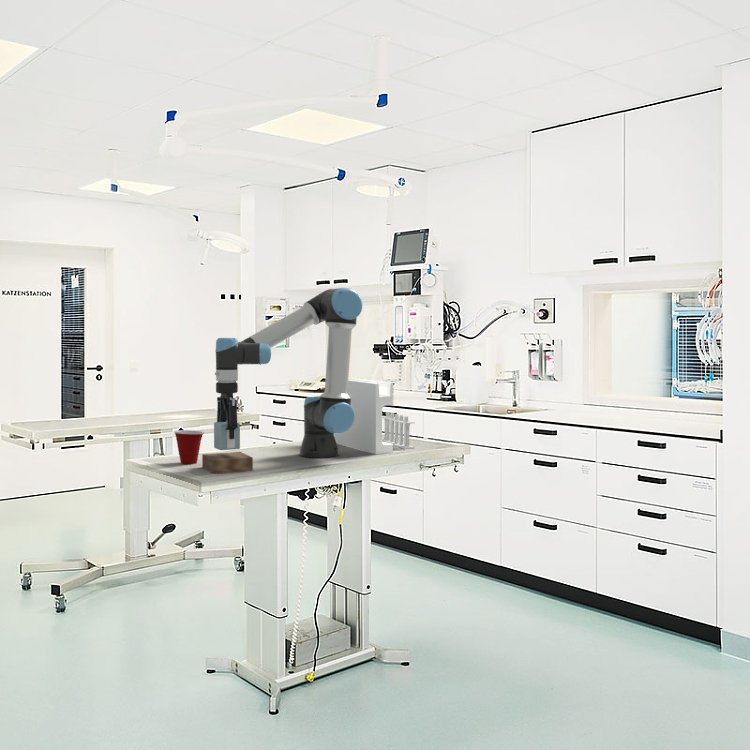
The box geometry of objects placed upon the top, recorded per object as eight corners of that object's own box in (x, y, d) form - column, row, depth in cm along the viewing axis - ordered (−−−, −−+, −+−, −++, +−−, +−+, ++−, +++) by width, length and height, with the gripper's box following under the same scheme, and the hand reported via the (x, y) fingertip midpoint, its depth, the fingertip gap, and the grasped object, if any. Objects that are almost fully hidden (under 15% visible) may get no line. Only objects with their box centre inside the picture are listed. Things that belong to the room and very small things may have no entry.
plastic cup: (210, 463, 295) (209, 430, 295) (183, 466, 288) (182, 433, 287) (195, 459, 303) (195, 427, 303) (169, 462, 296) (168, 430, 296)
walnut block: (240, 465, 294) (240, 451, 294) (252, 471, 281) (252, 457, 281) (202, 468, 287) (202, 454, 287) (213, 474, 275) (213, 460, 275)
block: (334, 443, 348) (334, 378, 346) (350, 441, 352) (350, 377, 350) (375, 454, 318) (376, 383, 316) (393, 453, 322) (393, 383, 320)
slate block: (232, 446, 289) (232, 421, 288) (239, 448, 283) (239, 423, 282) (214, 447, 285) (213, 422, 285) (220, 450, 279) (220, 424, 279)
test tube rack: (379, 441, 355) (379, 411, 354) (388, 440, 356) (388, 411, 356) (405, 449, 332) (405, 417, 331) (414, 448, 334) (414, 417, 333)
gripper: (207, 380, 289) (207, 443, 291) (226, 383, 272) (226, 451, 273) (227, 379, 293) (227, 442, 294) (247, 383, 276) (247, 449, 277)
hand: (227, 446), depth 284 cm, fingers closed on slate block, 7 cm apart
